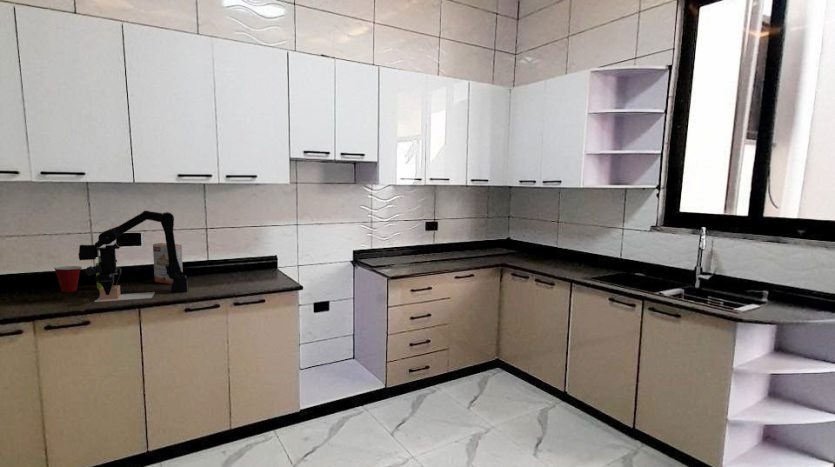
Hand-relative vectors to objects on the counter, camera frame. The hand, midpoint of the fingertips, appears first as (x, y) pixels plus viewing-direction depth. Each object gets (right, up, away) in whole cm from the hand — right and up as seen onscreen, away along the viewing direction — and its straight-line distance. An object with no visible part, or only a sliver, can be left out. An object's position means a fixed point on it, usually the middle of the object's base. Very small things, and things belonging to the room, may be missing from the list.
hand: (110, 292), depth 201 cm
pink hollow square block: (0, -3, 0) cm, 2 cm away
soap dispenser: (-17, -1, +20) cm, 27 cm away
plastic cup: (-30, -1, +15) cm, 34 cm away
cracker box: (+7, 0, +36) cm, 36 cm away
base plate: (+5, -3, +3) cm, 7 cm away
